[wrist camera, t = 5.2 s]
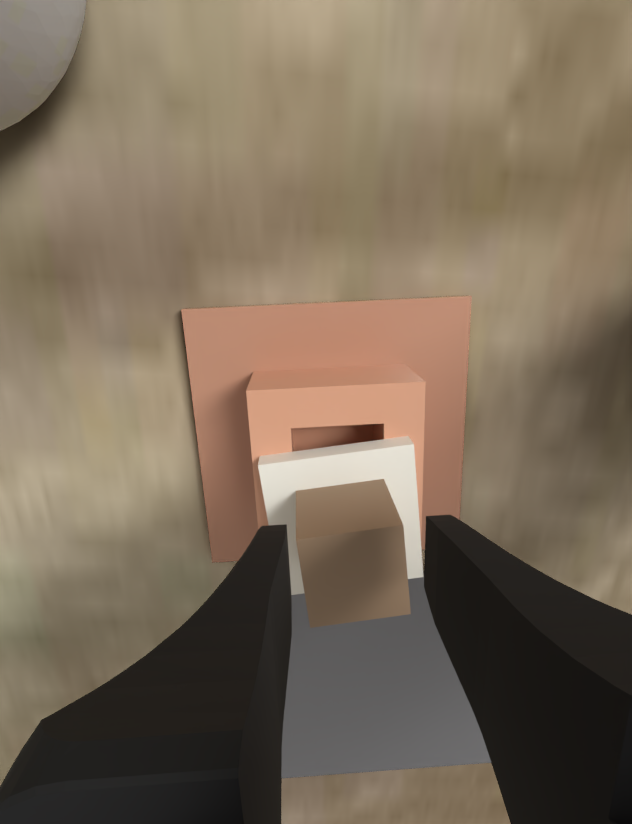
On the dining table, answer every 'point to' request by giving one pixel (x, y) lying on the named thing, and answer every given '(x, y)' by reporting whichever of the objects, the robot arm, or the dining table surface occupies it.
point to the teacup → (35, 52)
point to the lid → (348, 526)
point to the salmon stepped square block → (324, 395)
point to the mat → (375, 696)
